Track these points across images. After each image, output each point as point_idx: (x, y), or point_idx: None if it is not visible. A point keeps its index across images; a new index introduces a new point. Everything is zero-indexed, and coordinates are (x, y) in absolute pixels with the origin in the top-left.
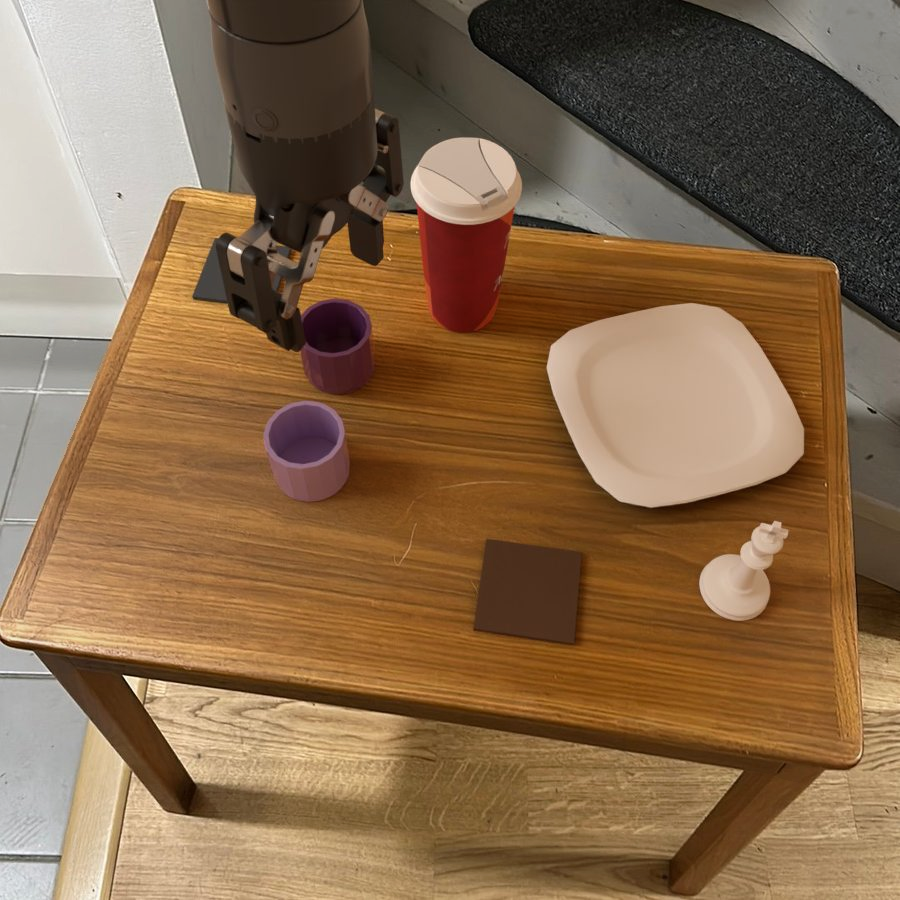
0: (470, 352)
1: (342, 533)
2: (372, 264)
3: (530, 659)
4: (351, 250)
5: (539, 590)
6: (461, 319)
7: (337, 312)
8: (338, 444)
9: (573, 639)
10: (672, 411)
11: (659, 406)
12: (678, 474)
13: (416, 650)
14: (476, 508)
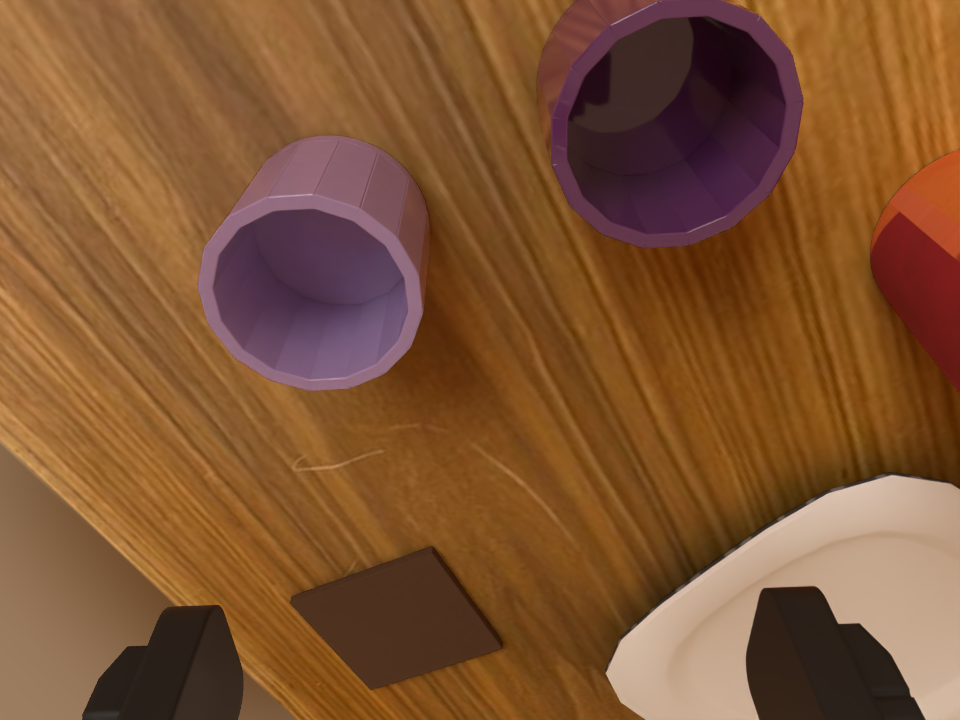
0: (822, 323)
1: None
2: (747, 658)
3: (314, 657)
4: (775, 601)
5: (408, 635)
6: (895, 307)
7: (759, 58)
8: (347, 380)
9: (375, 687)
10: None
11: None
12: (701, 698)
13: (203, 557)
14: (476, 507)
